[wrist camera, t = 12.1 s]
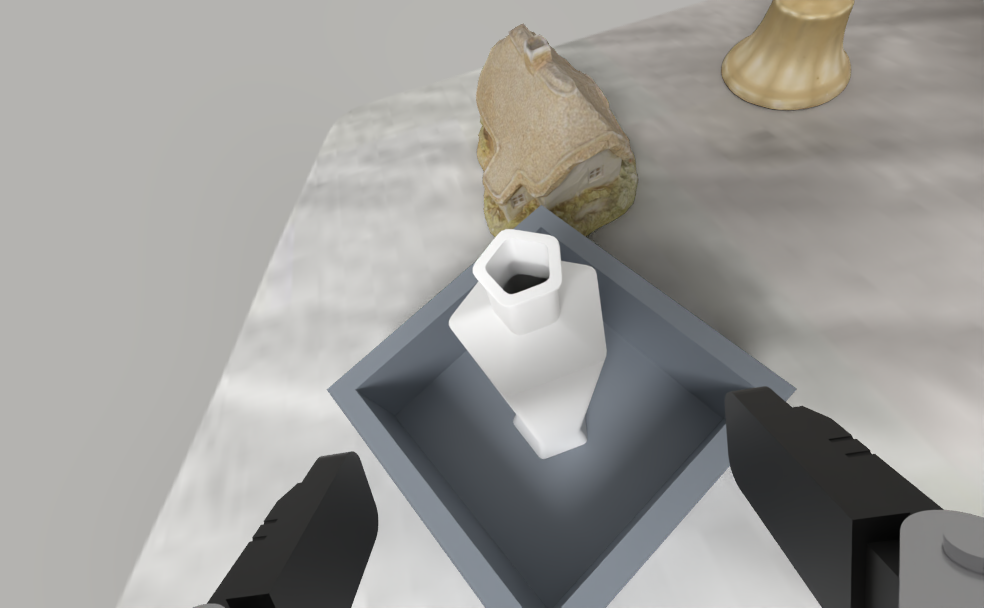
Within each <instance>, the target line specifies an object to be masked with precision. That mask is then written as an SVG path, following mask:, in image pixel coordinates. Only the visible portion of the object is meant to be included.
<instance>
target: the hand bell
mask: <svg viewBox="0 0 984 608" xmlns="http://www.w3.org/2000/svg"><path fill="white" fill-rule="evenodd" d="M853 5H854V0H773V1H772V3H771V5H770V7H769V9H768V11H767V13H766V15H765V17H764V19H763V20H762V22H761V24H760V25H759V26H758V28H757V29H756V30H755V32H754V33H753V34H752V35H750V36H748V37H746V38H745V39H743V40H742V41H740V42H739V43H737V44H736V45H735V46H734V47H733V48H732V49H731V50H730V52H729V53H728V54H727V55H726V57H725V59H724V61H723V64H722V71H721V72H722V77H723V80H724V82H725V83H726V85H727V86H728V87H729V89H730V90H731V91H732V92H733V93H734V94H736V95H737V96H739V97H740V98H741V99H743V100H745V101H747V102H749V103H752V104H755V105H758V106H762V107H766V108H769V109H778V110H798V109H806V108H810V107H814V106H818V105H821V104H823V103H826V102H828V101H830V100H831V99H833V98H835V97H836V96H837V95H839V94H840V93H841V92H842V91H843V90H844V89H845V87H846V86H847V84H848V82H849V80H850V76H851V65H850V61H849V57H848V55H847V53H846V52H845V51H844V49H843V37H844V32H845V28H846V25H847V21H848V18H849V15H850V12H851V10H852V7H853Z"/></svg>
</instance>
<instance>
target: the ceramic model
mask: <svg viewBox="0 0 984 608" xmlns="http://www.w3.org/2000/svg"><path fill="white" fill-rule="evenodd" d="M476 101H477V106H478V109H479V112H480V123H481V124H482V125H483V126H482V128H481V130H480V133H479V135H478V136H479V142H478V148H477V157H478V161H479V163H480V165H481V167H482V169H483V171H484V174H483V185H484V188H485V192H484V214H485V219H486V221H487V224H488V227H489V230H490V232H491V234H492V235H494V236H495V237H496V236H497V235H498V234H499V233H500V232H501V231H503V230H506V229H514V228H515V227H516V226H517V225H518V224H520V223H521V222H522V221H523V220H524V219H525V218H527V217H528V216H529V215H530V214H531V213H532V212H534V211H535V210H536V209H537V208H538V207H539V206H540V205H542V206H544V207H545V208H546V209H548V210H549V211H551V212H552V213H553V214H555V215H556V216H557V217H559V218H560V219H562V220H563V221H564V222H566V223H567V224H569V225H570V226H571V227H573V228H574V229H576V230H577V231H578V232H580V233H581V234H582V235H584V236H585V237H586V236H587V235H589V234H590V233H592V232H593V231H595V230H596V229H598V228H599V227H602V225H605V224H607V223H609V222H611V221H613V220H615V219H617V218H618V217H619V216H621V215H623V214H624V213H625V212H626V211H627V210H628V208H629V207H630V206H631V205H632V204H633V202H634V199H635V195H636V187H637V183H638V176H637V174H636V162H635V157H634V154H633V152H632V151H631V148H630V144H629V139H628V137H627V136H626V135H625V133H624V132H623V131H622V129H621V127H620V126H619V124H618V122H617V120H616V119H615V117H614V115H613V113H612V112H611V110H610V109H609V102H608V101H607V99H606V97H605V96H604V94H603V92H602V91H601V90H600V88H599V87H598V86H597V84H596V83H595V82H594V80H593V79H592V78H591V77H590V76H588V75H587V74H583V73H582V72H581V71H577V70H576V69H574V68H573V67H572V66H571V64H570V63H569V62H568V61H567V60H566V59H564V58H562V57H561V56H560V55H558V54H557V53H556V51H555V50H554V49H553V48H552V47H551V46H549V43H548V41H547V40H546V39H545V38H544V37H542V36H541V35H540V34H539V35H536V34H535V33H534V32H531V31H529V30H528V28H527V27H526V26H525V25H524V24H521V25H519V26H517V27H515V28H514V29H512V30H511V31H509V35H508V36H507V37H506V38H504V39H502V40H500V41H498V42H497V43H496V45H494V47H493V48H492V49H491V51H490V54H489V56H488V58H487V61H486V63H485V65H484V67H483V69H482V71H481V74H480V77H479V81H478V88H477V92H476Z"/></svg>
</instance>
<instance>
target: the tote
mask: <svg viewBox="0 0 984 608" xmlns="http://www.w3.org/2000/svg"><path fill="white" fill-rule="evenodd" d="M514 230H521V231H527V232H533V233H540V234H546V235H550V236H554V237H555V238H556V239H557V240H558V242H559V245H560V254H561V261H565V262H571V263H577V264H583V265H588V266H591V267H593V268H594V269H595V271H596V274H597V281H598V288H599V296H600V304H601V311H602V319H603V326H604V334H605V341H606V349H607V353H606V358H605V361H604V364H603V366H602V369H601V372H600V375H599V378H598V381H597V383H596V386H595V389H594V392H593V395H592V397H591V400H590V403H589V406H588V409H587V412H586V414H585V419H586V429H587V442H586V443H585V444H583V445H581V446H578V447H576V448H573V449H570V450H568V451H565V452H562V453H560V454H557V455H554V456H552V457H549V458H547V459H541V458H540V457H539V456H538V455H537V454H536V453H535V451H534V450H533V449H532V447H531V446H530V445H529V443H528V442H527V441H526V440H525V438H524V437H523V436H522V434H521V433H520V432H519V431H518V429H517V428H516V427H515V425H514V423H513V419H514V417H515V415H516V413H515V412H514V411H513V410H512V408H511V407H510V406H509V404H508V403H507V402H506V400H505V399H504V398H503V396H502V395H501V394H500V393H499V391H498V390H497V389H496V387H495V386H494V385H493V383H492V382H491V381H490V379H489V378H488V377H487V376H486V374H485V373H484V372H483V370H482V369H481V368H480V366H479V365H478V364H477V362H476V361H475V360H474V359H473V357H472V356H471V355H470V353H469V352H468V351H467V349H466V348H465V347H464V345H463V344H462V343H461V342H460V340H459V339H458V338H457V336H456V335H455V334H454V332H453V331H452V330H451V328H450V326H449V320H450V318H451V316H452V315H453V313H454V312H455V311H456V309H457V308H458V307H459V306H460V304H461V303H462V302H463V301H464V299H465V298H466V297H467V295H468V294H469V293H470V292H471V290H472V289H473V288H474V286H475V285H476V284H477V283H478V280H477V278H476V277H475V276H474V274H473V266H474V264H475V262H474V263H473V264H472V265H471V266H470V267H469V268H467V269H466V270H465V271H464V272H463V273H462V274H460V275H459V276H458V277H457V278H456V279H455V280H453V281H452V282H451V283H450V284H449V285H448V286H447V287H445V288H444V289H443V290H442V291H441V292H440V293H438V294H437V295H436V296H435V297H434V298H433V299H431V300H430V301H429V302H428V303H427V304H426V305H424V306H423V307H422V308H421V309H420V310H419V311H418V312H416V313H415V314H414V315H413V316H412V317H411V318H409V319H408V320H407V321H406V322H405V323H404V324H402V325H401V326H400V327H399V328H398V329H397V330H395V331H394V332H393V333H392V334H391V335H390V336H388V337H387V338H386V339H385V340H384V341H383V342H382V343H380V344H379V345H378V346H377V347H376V348H375V349H373V350H372V351H371V352H370V353H369V354H368V355H366V356H365V357H364V358H363V359H362V360H361V361H359V362H358V363H357V364H356V365H355V366H354V367H353V368H351V369H350V370H349V371H348V372H347V373H346V374H344V375H343V376H342V377H341V378H340V379H339V380H337V381H336V382H335V383H334V384H333V385H332V386H330V387H329V388H328V389H327V391H328V392H329V393H330V395H331V396H332V397H333V399H334V400H335V402H336V403H337V404H338V406H339V407H340V408H341V410H342V411H343V413H344V414H345V415H346V417H347V418H348V419H349V421H350V422H351V424H352V425H353V426H354V428H355V429H356V430H357V432H358V433H359V435H360V436H361V437H362V439H363V440H364V441H365V443H366V444H367V446H368V447H369V448H370V450H371V451H372V452H373V454H374V455H375V457H376V458H377V459H378V461H379V462H380V463H381V465H382V466H383V468H384V469H385V470H386V472H387V473H388V474H389V476H390V477H391V479H392V480H393V481H394V483H395V484H396V485H397V487H398V488H399V490H400V491H401V492H402V494H403V495H404V496H405V498H406V499H407V501H408V502H409V503H410V505H411V506H412V507H413V509H414V510H415V512H416V513H417V514H418V516H419V517H420V518H421V520H422V521H423V523H424V524H425V525H426V527H427V528H428V529H429V531H430V532H431V534H432V535H433V536H434V538H435V539H436V540H437V542H438V543H439V545H440V546H441V547H442V549H443V550H444V551H445V553H446V554H447V556H448V557H449V558H450V560H451V561H452V563H453V564H454V565H455V567H456V568H457V569H458V571H459V572H460V574H461V575H462V576H463V578H464V579H465V580H466V582H467V583H468V585H469V586H470V587H471V589H472V590H473V591H474V593H475V594H476V596H477V597H478V598H479V600H480V601H481V602H482V604H483V605H484V607H485V608H606V607H607V606H608V604H609V603H610V602H611V601H612V600H613V599H614V598H615V596H616V595H617V594H618V593H619V592H620V591H621V590H622V588H623V587H624V586H625V585H626V584H627V583H628V582H629V580H630V579H631V578H632V577H633V576H634V575H635V574H636V572H637V571H638V570H639V569H640V568H641V567H642V566H643V564H644V563H645V562H646V561H647V560H648V559H649V558H650V556H651V555H652V554H653V553H654V552H655V551H656V550H657V548H658V547H659V546H660V545H661V544H662V543H663V542H664V540H665V539H666V538H667V537H668V536H669V535H670V534H671V532H672V531H673V530H674V529H675V528H676V527H677V525H678V524H679V523H680V522H681V521H682V520H683V519H684V517H685V516H686V515H687V514H688V513H689V512H690V511H691V509H692V508H693V507H694V506H695V505H696V504H697V503H698V501H699V500H700V499H701V498H702V497H703V496H704V495H705V493H706V492H707V491H708V490H709V489H710V488H711V487H712V485H713V484H714V483H715V482H716V481H717V480H718V479H719V477H720V476H721V475H722V474H723V473H724V472H725V471H726V469H727V468H728V467H729V466H730V463H729V457H728V445H727V431H726V418H725V403H724V401H725V395H726V393H727V392H731V391H738V390H744V389H750V388H756V387H763V386H767V387H769V388H770V389H772V390H773V391H774V392H775V393H776V394H777V395H779V396H780V397H781V398H782V399H783V400H784V401H785V402H786V401H787V400H788V398H789V397H790V396H791V395H792V394H793V393H794V392H795V390H796V388H795V387H794V386H792V385H791V384H789V383H788V382H787V381H785V380H784V379H782V378H781V377H780V376H778V375H777V374H775V373H774V372H773V371H771V370H770V369H769V368H767V367H766V366H764V365H763V364H762V363H760V362H759V361H757V360H756V359H755V358H753V357H752V356H750V355H749V354H748V353H746V352H745V351H744V350H742V349H741V348H739V347H738V346H737V345H735V344H734V343H732V342H731V341H730V340H728V339H727V338H725V337H724V336H723V335H721V334H720V333H719V332H717V331H716V330H714V329H713V328H712V327H710V326H709V325H707V324H706V323H705V322H703V321H702V320H700V319H699V318H698V317H696V316H695V315H694V314H692V313H691V312H689V311H688V310H687V309H685V308H684V307H682V306H681V305H680V304H678V303H677V302H675V301H674V300H673V299H671V298H670V297H669V296H667V295H666V294H664V293H663V292H662V291H660V290H659V289H657V288H656V287H655V286H653V285H652V284H650V283H649V282H648V281H646V280H645V279H644V278H642V277H641V276H639V275H638V274H637V273H635V272H634V271H632V270H631V269H630V268H628V267H627V266H625V265H624V264H623V263H621V262H620V261H619V260H617V259H616V258H614V257H613V256H612V255H610V254H609V253H607V252H606V251H605V250H603V249H602V248H601V247H599V246H598V245H596V244H595V243H594V242H592V241H591V240H589V239H588V238H587V237H585V236H584V235H582V234H581V233H580V232H578V231H577V230H576V229H574V228H573V227H571V226H570V225H569V224H567V223H566V222H564V221H563V220H562V219H560V218H559V217H557V216H556V215H555V214H553V213H552V212H551V211H549V210H548V209H546V208H545V207H544V206H542V205H540V206H539V207H538V208H537V209H536V210H535V211H534V212H532V213H531V214H530V215H529V216H528V217H527V218H525V219H524V220H523V221H522V222H521V223H520V224H518V225H517V226H516V227H515V228H514Z"/></svg>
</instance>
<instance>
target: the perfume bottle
mask: <svg viewBox="0 0 984 608" xmlns="http://www.w3.org/2000/svg"><path fill="white" fill-rule="evenodd" d="M473 274H474V276H475V277H476V278H477V280H478V283H477V284H476V285H475V286H474V288H473V289H472V290H471V292H470V293H469V294H468V295H467V297H466V298H465V299H464V301H463V302H462V303H461V304H460V306H459V307H458V308H457V309H456V311H455V312H454V313H453V315H452V316H451V318H450V320H449V326H450V328H451V330H452V331H453V332H454V334H455V335H456V336H457V338H458V339H459V340H460V342H461V343H462V344H463V345H464V347H465V348H466V349H467V351H468V352H469V353H470V355H471V356H472V357H473V359H474V360H475V361H476V362H477V364H478V365H479V366H480V368H481V369H482V370H483V372H484V373H485V374H486V376H487V377H488V378H489V379H490V381H491V382H492V383H493V385H494V386H495V387H496V389H497V390H498V391H499V393H500V394H501V395H502V396H503V398H504V399H505V400H506V402H507V403H508V404H509V406H510V407H511V408H512V410H513V411H514V412H515V413H516V415H515V417H514V419H513V423H514V425H515V427H516V428H517V429H518V431H519V432H520V433H521V434H522V436H523V437H524V438H525V440H526V441H527V442H528V443H529V445H530V446H531V447H532V449H533V450H534V451H535V453H536V454H537V455H538V456H539V457H540V458H541V459H547V458H549V457H552V456H554V455H557V454H560V453H562V452H565V451H568V450H570V449H573V448H576V447H578V446H581V445H583V444H585V443H586V442H587V429H586V419H585V414H586V412H587V409H588V406H589V403H590V400H591V397H592V395H593V392H594V389H595V386H596V383H597V381H598V378H599V375H600V372H601V369H602V366H603V364H604V361H605V358H606V353H607V349H606V341H605V334H604V326H603V319H602V311H601V304H600V296H599V288H598V281H597V274H596V271H595V269H594V268H593V267H591V266H588V265H583V264H577V263H571V262H565V261H561V254H560V245H559V242H558V240H557V239H556V238H555V237H554V236H550V235H546V234H540V233H533V232H527V231H521V230H514V229H506V230H503V231H501V232H500V233H499V234H498V235H497V236H496V237H495V238H494V240H493V241H492V242H491V243H490V245H489V246H488V247H487V248H486V250H485V251H484V252H483V253H482V255H481V256H480V257H479V258H478V260H477V261H476V262H475V264H474V266H473Z"/></svg>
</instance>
